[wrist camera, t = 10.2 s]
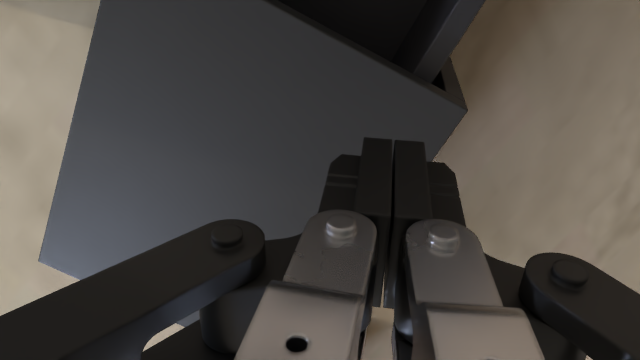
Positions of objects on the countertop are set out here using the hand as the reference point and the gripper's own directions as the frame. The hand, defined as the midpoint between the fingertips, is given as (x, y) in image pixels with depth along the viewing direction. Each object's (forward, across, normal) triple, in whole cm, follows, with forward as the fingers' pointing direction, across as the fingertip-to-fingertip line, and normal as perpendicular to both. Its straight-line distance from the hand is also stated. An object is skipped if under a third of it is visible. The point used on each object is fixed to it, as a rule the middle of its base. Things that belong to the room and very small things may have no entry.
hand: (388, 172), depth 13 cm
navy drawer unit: (+15, +6, +4) cm, 17 cm away
